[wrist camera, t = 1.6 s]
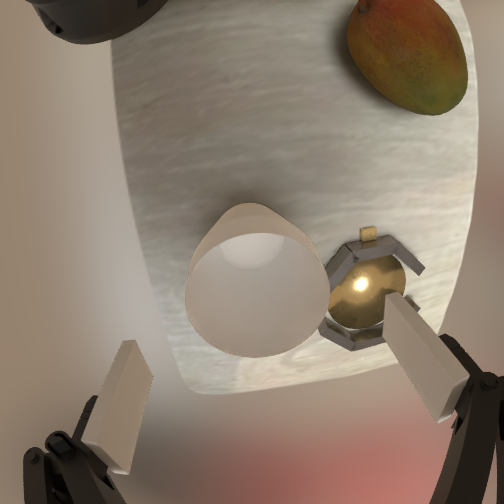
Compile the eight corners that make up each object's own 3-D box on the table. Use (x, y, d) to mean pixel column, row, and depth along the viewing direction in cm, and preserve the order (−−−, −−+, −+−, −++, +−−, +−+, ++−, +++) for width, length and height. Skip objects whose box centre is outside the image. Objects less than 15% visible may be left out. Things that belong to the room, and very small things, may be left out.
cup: (202, 276, 30) (186, 356, 19) (203, 187, 26) (179, 226, 15) (290, 280, 30) (318, 358, 19) (300, 192, 27) (345, 234, 16)
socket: (308, 238, 29) (313, 246, 27) (417, 218, 29) (428, 224, 26) (317, 354, 35) (321, 366, 33) (407, 330, 34) (415, 339, 32)
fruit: (351, -10, 19) (395, -53, 10) (446, 53, 21) (506, 41, 12) (315, 74, 23) (356, 45, 14) (419, 135, 25) (485, 143, 16)
